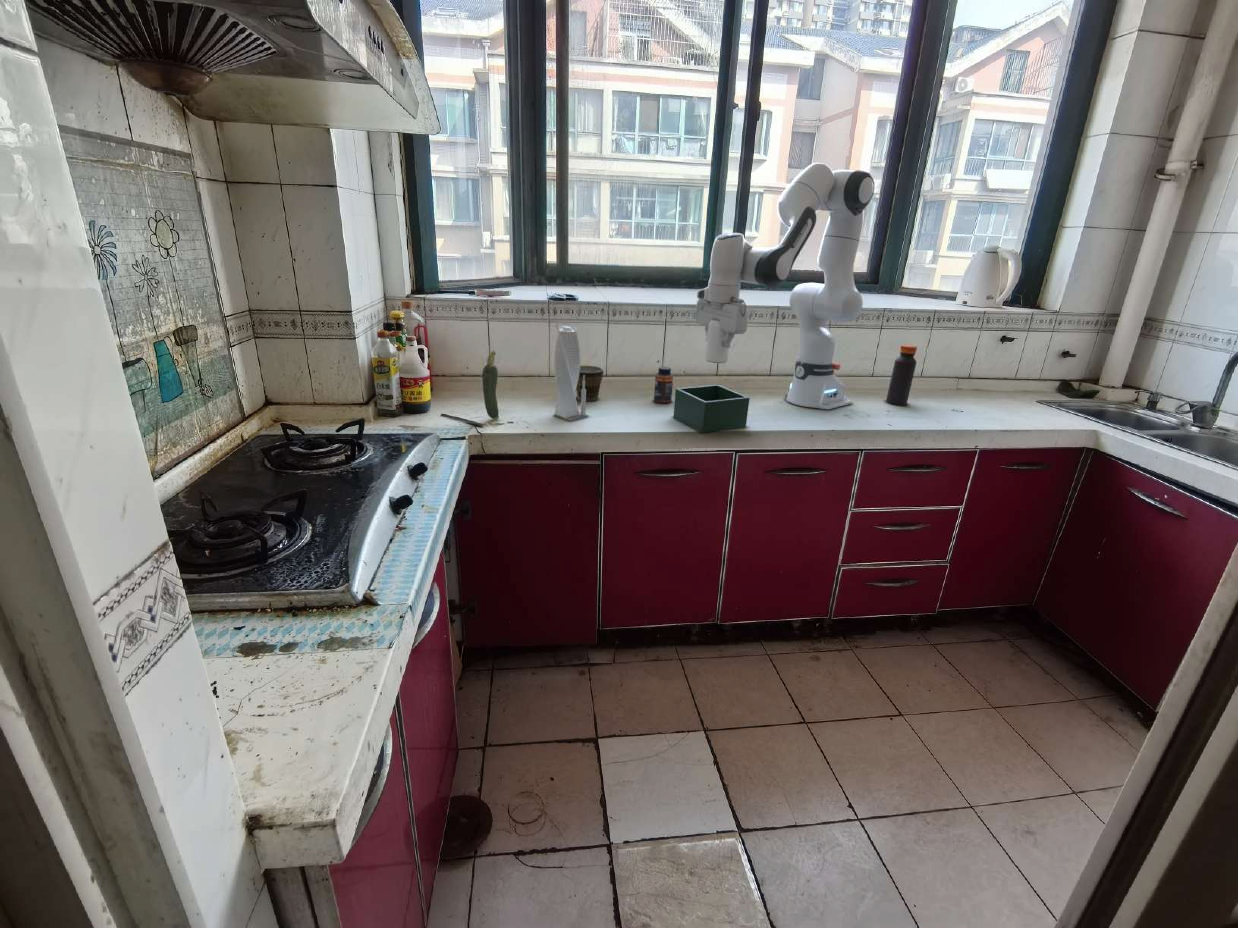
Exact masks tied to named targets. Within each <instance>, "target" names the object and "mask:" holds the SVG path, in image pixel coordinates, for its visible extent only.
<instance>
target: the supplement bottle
mask: <svg viewBox="0 0 1238 928" xmlns="http://www.w3.org/2000/svg"><path fill="white" fill-rule="evenodd" d="M671 372H672V368H671V367H670V366H659V367H658V372H657V373H656V374H655V376H654V391H653V393H654V394H653V401H654V402H656V403H658V404H669V403H671V402H672V400H673V388H674V387H673V386H674V375H673V374H672V373H671Z"/></svg>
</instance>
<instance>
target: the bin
mask: <svg viewBox="0 0 1238 928" xmlns="http://www.w3.org/2000/svg"><path fill="white" fill-rule="evenodd" d="M750 398H751V397H749V396H747V395H744V394H742V393H739V392H737V391H735V390H733V389H730V388H727V387H725V386H723V385H721V384H711V385H710V384H709V385H700V386H699V385H698V386H688V387H687V386H686V387H677V388H675V393H674V404H673V405H674V407H673V418H674V419H676V420H678V421H680V422H681V423H682V424H685V425H687V426H689V427H690V428H692V429H694V430H696V431H698V432H700V433H702V434H704V433H711V432H718V431H726V430H734V429H741V428H746V427H747V423H748V422H747V421H748V413H749V407H750Z"/></svg>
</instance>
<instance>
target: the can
mask: <svg viewBox="0 0 1238 928" xmlns="http://www.w3.org/2000/svg"><path fill="white" fill-rule="evenodd" d="M719 321H720V320H714V319H711V321H710V322H709V326H708V335H707V336H706V339H707V341H706V347H705V358H704V360H705V361H706V362H708V363H712V364H725V363H728V360H729V353H730V352H729V351H730V347H729V348H724V347H722V341H725V338H726V335H725V333H726V332H725V331H722V330H720V322H719Z"/></svg>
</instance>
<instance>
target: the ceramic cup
mask: <svg viewBox="0 0 1238 928" xmlns="http://www.w3.org/2000/svg"><path fill="white" fill-rule="evenodd" d="M583 375H585V377H584V381H585V389H586V402H595V401H597V400H598V399H599V392H600V390H601V389H600V388H601V384H602V381H603V375H604V368H603V367H600V366H597V365H580V372H579V378H578V383H577V387H576V390H575V391H576V396H577V397H576V398H577V400H578V401H581V389H582V388H583Z"/></svg>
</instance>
